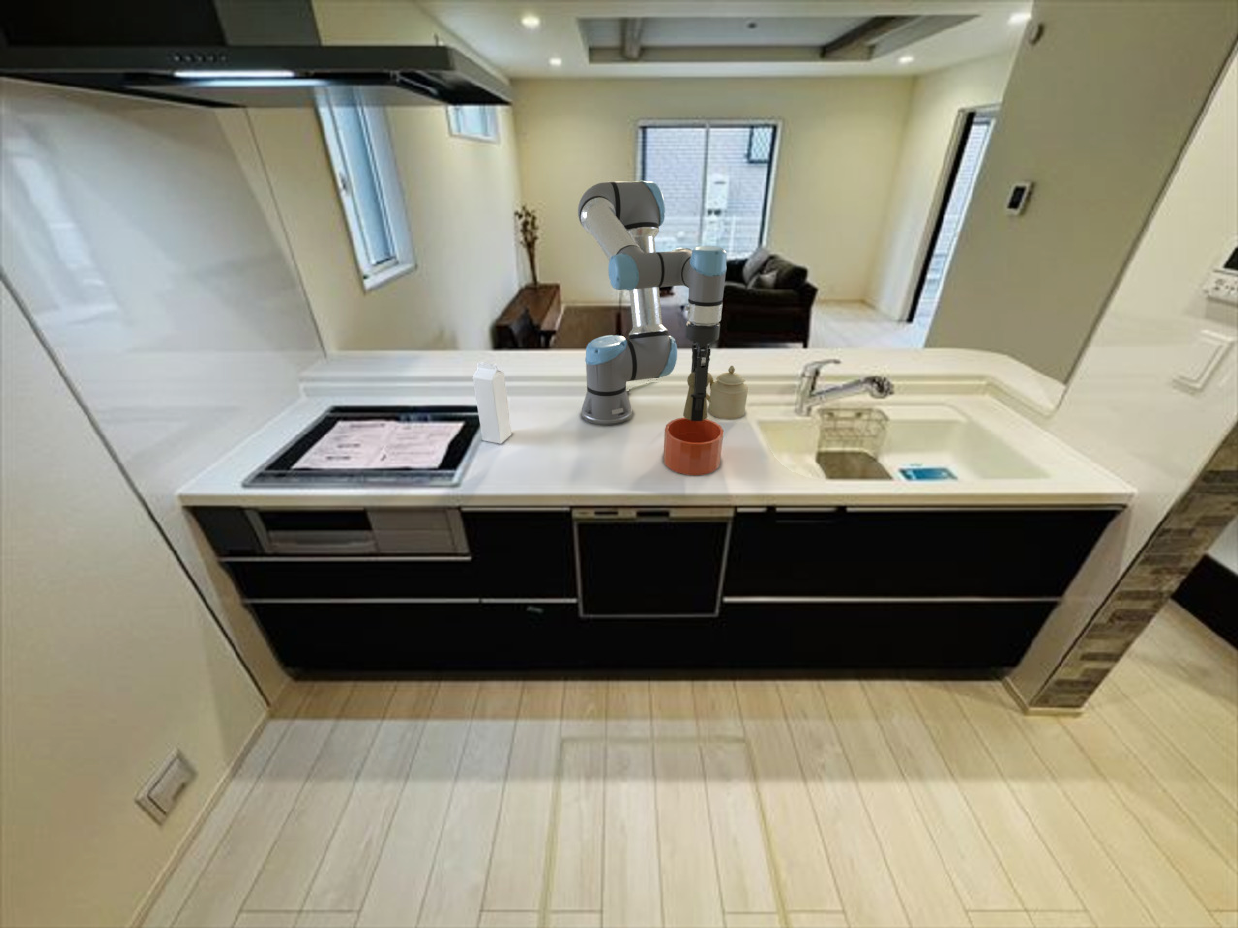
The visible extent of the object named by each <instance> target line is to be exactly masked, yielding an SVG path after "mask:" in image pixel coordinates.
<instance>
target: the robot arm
mask: <svg viewBox="0 0 1238 928" xmlns="http://www.w3.org/2000/svg"><path fill="white" fill-rule="evenodd" d="M664 198H665V197H664V195H663V192H662V190H661V188H660V186H658V184H657V183H656V182H654V181H647V180H641V179H640V180H631V181H630V180H629V181H601V182H598V183H596V184H593V185H592V186H590V187H589V188H588V189H587V190H585V192H584V193H583V194H582V196H581V198H580V200H579V203H578V207H577V217H578V221H579V223H580V226H581V227H582V228H583V230H584V231H585V232H586V233H587V234H589V235H591V236H593V238H594V239H595V241H596V243H597V245H598V246H599V247H600V248H601V250H602V252H603V253H604V255H605V256H606V258H607V259H608V270H607V271H608V278H609V281H610V282H609V283H610V285H611V287H612V288H613V289H614V290H617V291H622V290H623V291H628V293H629V300H630V311H631V320H632V321H631V322H632V329H631V330H630V332H629V333H628V340H627V339H626V337H624V336H622V335H619V334H616V335H613V334H609V335H603V336H599V337H596V338H593V339H592V340H591V341H590V342H588V344H587V345H586V348H585V361H584V362H585V367H586V369H585V370H586V371H585V372H586V394H585V397H584V400H583V404H582V407H581V416H582V418H583V419H584V420H585V421H586V422H588V423H590V424H594V425H598V426H614V425H619V424H620V425H621V424H623V423H625V422H627V421H629V420H630V419H631V417H632V416H633V415H632V414H633V407H632V404H631V402H630V399H629V393H630V391H627V382H634V381H641V380H648V379H649V380H651V379H653V378H658V379H659V378H663V377H668V376H670V375H671V374H672V372H673V371H674V370H675V367H676V364H677V360H678V345H677V343H676V339H675V338H674V337H673V336H671V335H669V329H668V328H666V327H665V326H664V325H663V319H662V309H661V296H660V288H667V287H681V286H682V287H683V286H684V287H686V288H688V296H687V297H688V298H687V306H685V307H684V310H685V311H686V312H687V314H686V315H687V316H686V319H687V320H688V321H686V326H685V338H686V339H687V341H690V342H692V345H691V369H690V374H691V373H693V372H695V383H694V394H691V397H693V400H692V413H691V421H702V420H703V409H704V398H706V393H707V388H708V386H707V377H708V373H709V366H710V360H711V358H710V356H711V351H712V350H711V349H712V348H710V343H715V342H716V341H718V340H719V338H720V331H721V330H720V329H721V323H720V322H721V320H722V315H723V314H722V312H723V298H724V291H725V283H726V282H725V281H726V274H727V258H728V257H727V255H728V254H727V251H726V250H725V249H724V248H723V247H719V246H714V245H713V246H711V245H703V246H696V247H695V248H693V249H690V248H687V247H676V248H674V249H672V250H671V251H656V242H655V239H656V236H657V235H658V234H659V232H660V227H661V226H662V225H663V224H664V221H665V218H666V216H665V214H666V204H665V203H666V202H665V199H664Z"/></svg>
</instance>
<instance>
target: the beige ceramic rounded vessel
mask: <svg viewBox="0 0 1238 928" xmlns="http://www.w3.org/2000/svg"><path fill="white" fill-rule="evenodd" d="M727 371H728V372H723V373H721V374H719V375H717V377H716V380H714V378H713V376H712V374H711V373H710V372H708V377H709V384H708V385H709V390H710V391H709V392H710V393H709V394H708V393H707V402H708V412H709V414H711V416H714V417H716V418H719V419H724V420H735V419H739V418H741V417H743V416H744V415H745V410H746V407H747V406H746V405H747V401H748V400H747V399H748V391H749V387H748V385H747V384H746V383H745V382H746V379H745V378H744V377H743V376H741V375H740V374H738V373H736V372H735V371H736V368H735V367H734V365H730V366H729V367H728V370H727Z"/></svg>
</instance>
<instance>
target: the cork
mask: <svg viewBox="0 0 1238 928" xmlns="http://www.w3.org/2000/svg"><path fill="white" fill-rule="evenodd" d="M694 383H695V372H693V373H691V372H690V374H689V375H688V376H687V385H688V390H687V395H686V400H685V404H684V409H683V414H682V417H683V418H684V417H685V418H686V419H688V420H691V413H692V400H693V397H691V394H694ZM709 385H710V384H709V377H707V387H708V386H709ZM707 394H708V393H707V392H706V398H704V409H703V420H705V419H708V416H709V415H708V400H707Z"/></svg>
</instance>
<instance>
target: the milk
mask: <svg viewBox="0 0 1238 928" xmlns="http://www.w3.org/2000/svg"><path fill="white" fill-rule="evenodd" d="M476 366H477V368H476V370H475V372H474V373H473V375H472V381H473V382H472V383H473V389H474V396H475V402H476V407H477V415H478V420H479V421H478V422H479V427H480V432H481V440H482V441H484V442H490V443H495V444H500V445H501V444H502V443H504V442H505V441H506V440H507V439H508V438H509V437H510V436H511V435H512V426H511V417H510V409H509V402H508V396H507V395H508V394H507V393H508V392H507V386H506V379H505V378H506V377H505V372H504V371H502V370H499V369H498V365H497V364H496V363H489V362H483V361H477V362H476Z"/></svg>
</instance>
